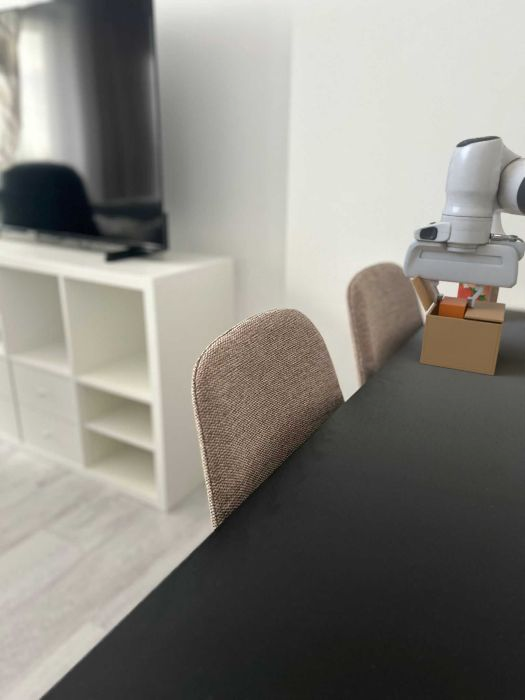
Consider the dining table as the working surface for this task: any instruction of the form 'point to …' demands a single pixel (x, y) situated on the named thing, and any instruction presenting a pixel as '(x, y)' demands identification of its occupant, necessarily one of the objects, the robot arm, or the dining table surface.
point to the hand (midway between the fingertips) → (453, 305)
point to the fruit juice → (489, 291)
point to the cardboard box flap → (424, 291)
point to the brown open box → (464, 338)
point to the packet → (453, 307)
